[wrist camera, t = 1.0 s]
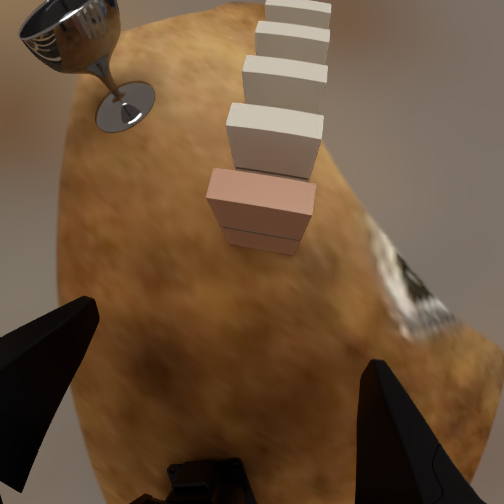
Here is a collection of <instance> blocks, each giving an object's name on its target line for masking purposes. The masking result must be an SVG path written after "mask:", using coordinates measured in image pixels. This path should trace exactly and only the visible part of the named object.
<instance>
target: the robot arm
mask: <svg viewBox="0 0 504 504" xmlns="http://www.w3.org/2000/svg"><path fill="white" fill-rule="evenodd" d="M98 323H99V313H98V309H97V305H96V301H95V300H94V299H93V298H91V297H88V296H82V297H80V298H78V299H76V300H74V301H71V302H69V303H67V304H65V305H63V306H61V307H59V308H57V309H55V310H53V311H51V312H49V313H47V314H45V315H43V316H41V317H39V318H37V319H36V320H33V321H31V322H29V323H27V324H25V325H23V326H21V327H19V328H18V329H16V330H14V331H12V332H10V333H8V334H6V335H4V336H3V337H0V481H1V482H3V483H4V484H6V485H8V486H9V487H11V488H13V489H14V490H16V491H18V492H20V493H22V491H23V489H24V486H25V483H26V481H27V478H28V475H29V473H30V470H31V468H32V465H33V463H34V460H35V458H36V456H37V453H38V449H39V448H40V446H41V444H42V441H43V439H44V436H45V434H46V432H47V430H48V428H49V426H50V423H51V421H52V419H53V417H54V415H55V413H56V411H57V409H58V407H59V405H60V403H61V401H62V399H63V396H64V394H65V393H66V391H67V389H68V387H69V385H70V383H71V381H72V379H73V377H74V375H75V373H76V371H77V369H78V368H79V366H80V364H81V362H82V360H83V358H84V356H85V353H86V351H87V349H88V346H89V344H90V342H91V339H92V337H93V335H94V332H95V330H96V328H97V326H98ZM233 463H238V464H239V465H234V464H233ZM171 469H173V470H175V472H173V471H172V470H171ZM167 473H168V475H169V477H170V480H171V482H172V485H171V486H172V490H171V491H170V493H169V495H168V496H167V498H166V500H165V501H162V500H159V499H156V498H153V497H152V496H151V495H148V494H143V495H142V496H140V497H139V498H137V499H136V500H134V501H133V502H131V503H129V504H257V503H256V500H255V497H254V495H253V492H252V489H251V486H250V483H249V480H248V478H247V475H246V472H245V469H244V466H243V463H242V461H241V460H240V459H238V458H233V459H226V460H219V461H215V460H213V459H212V460H203V461H194V462H185V464H179V465H170V466H169V467H168V468H167ZM0 504H3V502H2V499H1V496H0ZM355 504H486V503H485V502H484V501H483V500H481V499H480V497H479V496H478V495H477V494H476V492H475V491H474V490H473V488H472V487H471V486H470V485H469V483H468V482H467V481H466V479H465V478H464V477H463V476H462V474H461V473H460V472H459V470H458V469H457V468H456V466H455V465H454V463H453V462H452V461H451V459H450V458H449V456H448V455H447V453H446V452H445V450H444V448H443V447H442V445H441V444H440V443H439V441H438V439H437V438H436V436H435V434H434V433H433V431H432V430H431V428H430V427H429V425H428V424H427V422H426V421H425V419H424V418H423V416H422V415H421V413H420V412H419V410H418V409H417V407H416V406H415V404H414V403H413V401H412V400H411V398H410V397H409V395H408V394H407V392H406V391H405V389H404V388H403V386H402V385H401V383H400V382H399V380H398V379H397V378H396V376H395V375H394V373H393V372H392V370H391V369H390V367H389V366H388V365H387V363H386V362H385V361H384V360H380V359H372V360H370V362H369V363H368V365H367V367H366V369H365V370H364V372H363V373H362V376H361V379H360V390H359V402H358V413H357V461H356V492H355Z"/></svg>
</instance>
